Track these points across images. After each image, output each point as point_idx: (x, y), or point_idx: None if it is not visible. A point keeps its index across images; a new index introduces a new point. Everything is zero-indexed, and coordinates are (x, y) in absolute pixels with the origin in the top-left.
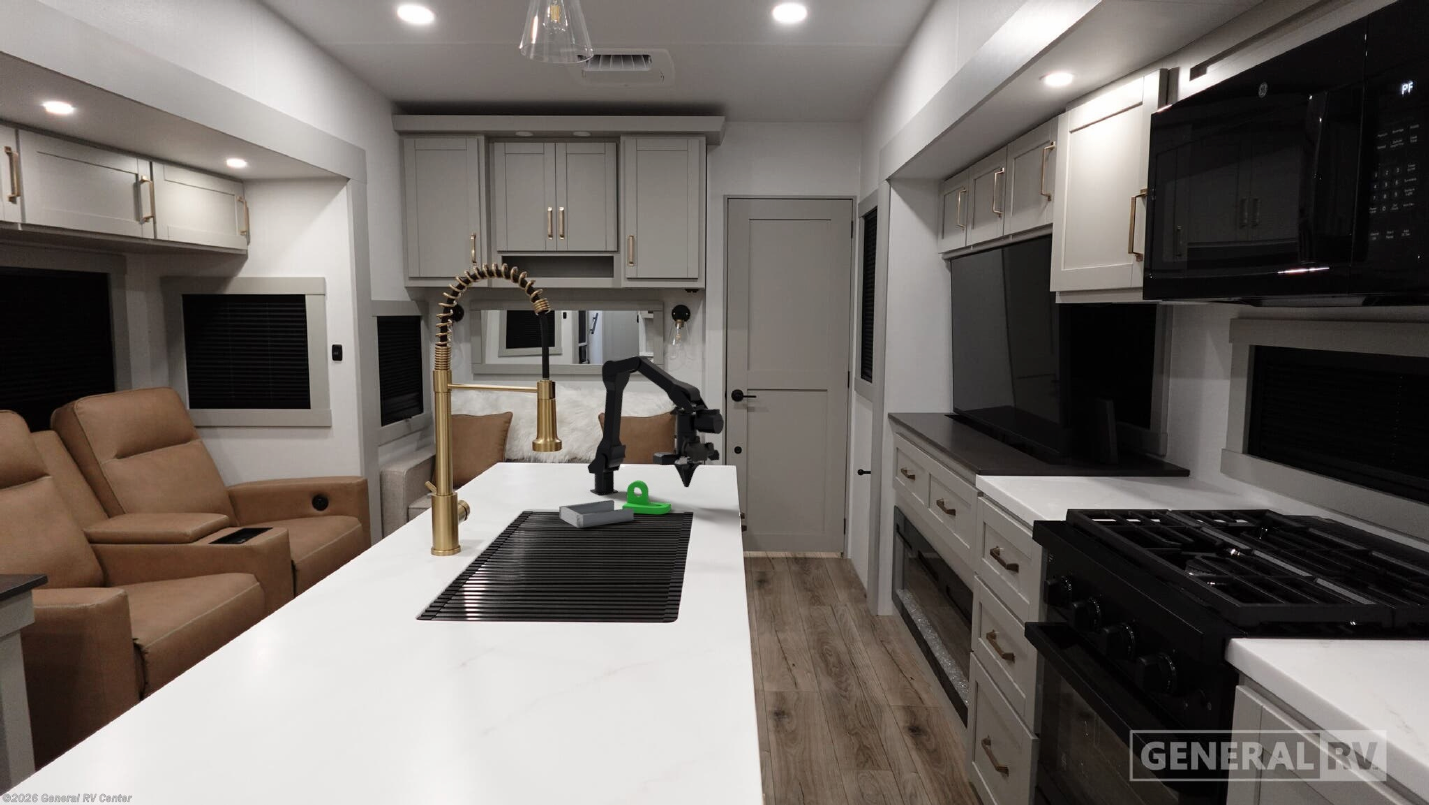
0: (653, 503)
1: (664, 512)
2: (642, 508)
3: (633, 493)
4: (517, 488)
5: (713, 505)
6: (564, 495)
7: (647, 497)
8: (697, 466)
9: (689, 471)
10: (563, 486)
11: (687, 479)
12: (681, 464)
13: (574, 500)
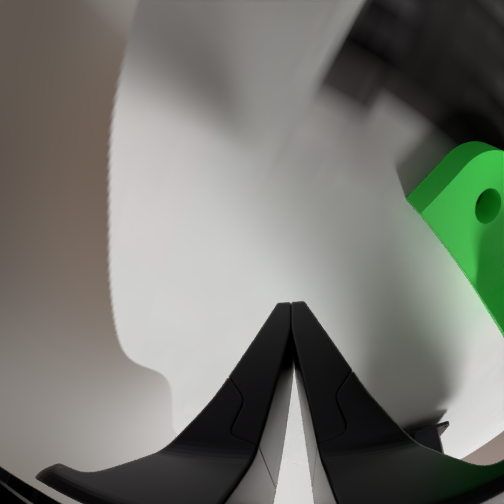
0: (479, 258)
1: (475, 142)
2: None
3: None
4: (462, 457)
5: (133, 196)
6: (464, 431)
7: (499, 296)
8: (135, 466)
9: (269, 432)
10: None
11: (303, 347)
12: (490, 499)
13: (490, 401)
